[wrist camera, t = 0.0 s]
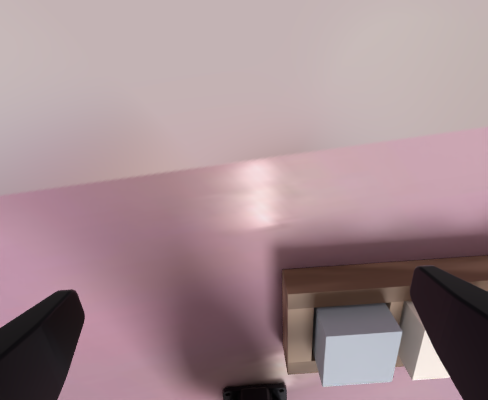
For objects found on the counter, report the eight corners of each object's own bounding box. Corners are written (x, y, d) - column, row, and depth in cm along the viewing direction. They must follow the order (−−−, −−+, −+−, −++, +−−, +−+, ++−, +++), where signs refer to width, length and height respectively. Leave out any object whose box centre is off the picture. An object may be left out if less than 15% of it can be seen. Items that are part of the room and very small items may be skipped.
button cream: (452, 338, 28) (481, 375, 24) (391, 342, 28) (412, 380, 24) (467, 290, 25) (501, 324, 22) (400, 295, 25) (425, 329, 22)
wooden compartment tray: (531, 328, 30) (560, 355, 27) (282, 345, 30) (287, 374, 27) (566, 249, 26) (604, 272, 24) (282, 269, 26) (287, 294, 24)
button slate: (373, 344, 28) (391, 381, 24) (312, 348, 27) (322, 386, 24) (381, 296, 25) (402, 331, 22) (314, 301, 25) (326, 336, 22)
